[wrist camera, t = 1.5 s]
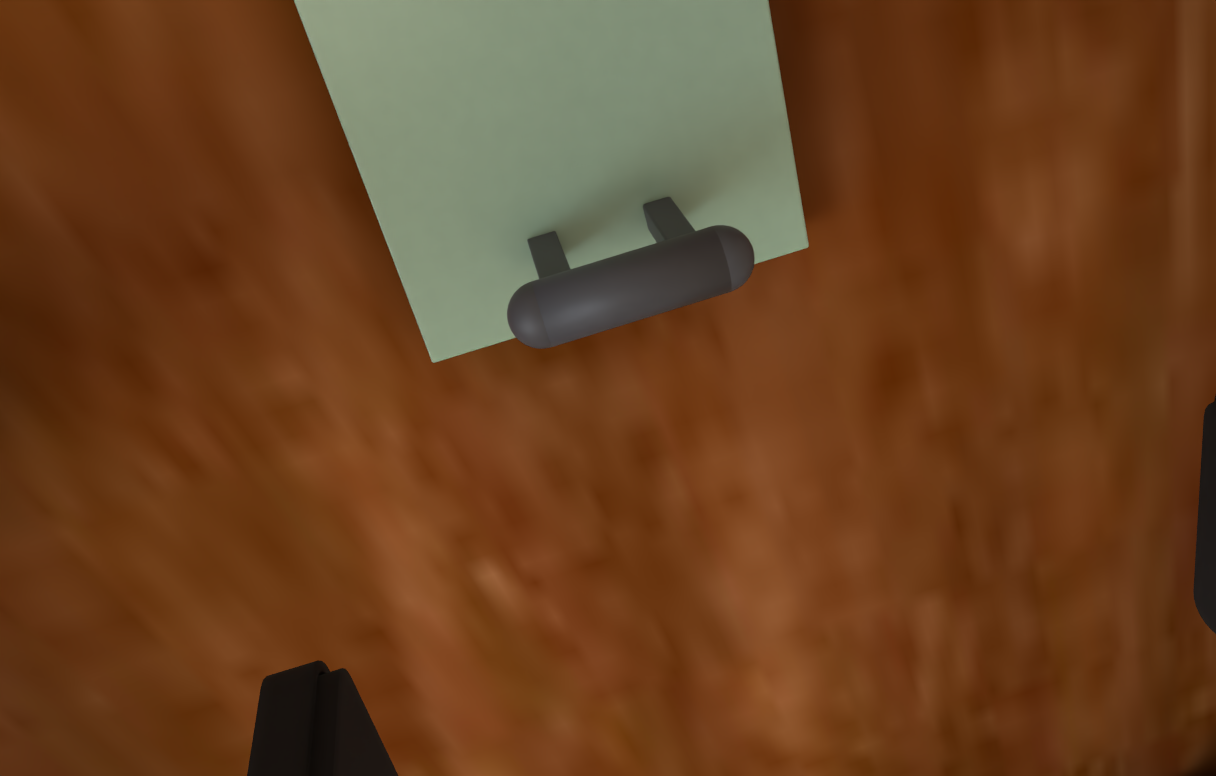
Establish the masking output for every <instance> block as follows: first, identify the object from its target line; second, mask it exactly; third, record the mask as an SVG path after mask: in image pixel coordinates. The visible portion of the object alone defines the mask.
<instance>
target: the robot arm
mask: <svg viewBox="0 0 1216 776" xmlns="http://www.w3.org/2000/svg"><path fill="white" fill-rule="evenodd" d="M1194 600H1195V604H1196V607H1197V609H1198V611H1199V614H1200V616H1201V617H1202V619H1203V620H1204V622H1205V623H1206V624H1207V625H1208V626H1209V628H1210V629H1211V630H1212V631H1213V632H1214V633H1215V634H1216V396H1215V400H1214V402H1213V403H1211V404H1209V405H1208V406H1207V408H1206V409H1205V414H1204V424H1203V441H1202V458H1201V474H1200V491H1199V508H1198V525H1197V542H1196V559H1195V576H1194ZM247 776H398V774H397V772H396V770H395V768H394V766H393V764H392V762H391V760H390V757H389V755H388V753H387V751H386V749H385V747H384V745H383V743H382V741H381V739H380V737H379V734H378V732H377V730H376V728H375V726H374V724H373V722H372V720H371V718H370V716H369V714H368V712H367V709H366V707H365V705H364V703H363V701H362V699H361V697H360V695H359V693H358V691H357V689H356V686H355V684H354V682H353V680H352V678H351V676H350V675H349V673H348V671H347V670H346V669H343V668H342V669H338V670H335V671H332V672H330V671H329V669H328V667H327V666H326V664H325V663H323V662H322V661H315V662H312V663H309V664H305V665H302V666H299V667H295V668H292V669H289V670H286V671H282V672H279V673H276V674H272V675H269V676H266V678H265V679H264V680H263V682H262V686H261V690H260V697H259V703H258V710H257V716H256V723H255V729H254V735H253V742H252V748H251V755H250V761H249V767H248V774H247Z"/></svg>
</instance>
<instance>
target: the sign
mask: <svg viewBox="0 0 1216 776" xmlns="http://www.w3.org/2000/svg"><path fill="white" fill-rule="evenodd" d="M294 2H295V5H296V7H297V10H298V13H299V15H300V18H301V20H302V23H303V26H304V28H305V31H306V33H307V36H308V39H309V41H310V44H311V47H312V49H313V52H314V54H315V57H316V60H317V62H318V65H319V67H320V70H321V73H322V75H323V78H324V80H325V83H326V86H327V88H328V91H329V94H330V96H331V99H332V101H333V104H334V107H335V109H336V112H337V114H338V117H339V120H340V122H341V125H342V128H343V130H344V133H345V135H346V138H347V141H348V143H349V146H350V148H351V151H352V154H353V156H354V159H355V162H356V164H357V167H358V169H359V172H360V175H361V177H362V180H363V182H364V185H365V188H366V190H367V193H368V195H369V198H370V201H371V203H372V206H373V209H374V211H375V214H376V216H377V219H378V222H379V224H380V227H381V229H382V232H383V235H384V237H385V240H386V243H387V245H388V248H389V250H390V253H391V256H392V258H393V261H394V263H395V266H396V269H397V271H398V274H399V276H400V279H401V282H402V284H403V287H404V290H405V292H406V295H407V297H408V300H409V303H410V305H411V308H412V310H413V313H414V316H415V318H416V321H417V324H418V326H419V329H420V331H421V334H422V337H423V339H424V342H425V344H426V347H427V350H428V352H429V355H430V358H431V360H432V362H433V363H435V362H438V361H441V360H445V359H448V358H451V357H454V356H458V355H461V354H464V353H467V352H471V351H474V350H477V349H480V348H484V347H487V346H490V345H493V344H497V343H500V342H503V341H506V340H510V339H513V338H517V339H518V340H519V341H521V342H522V343H524V344H525V345H528V346H530V347H534V348H549V347H553V346H556V345H560V344H563V343H566V342H569V341H573V340H576V339H579V338H582V337H586V336H589V335H592V334H595V333H599V332H602V331H605V330H608V329H611V328H615V327H618V326H621V325H624V324H628V323H631V322H634V321H637V320H641V319H644V318H647V317H650V316H654V315H657V314H660V313H663V312H667V311H670V310H673V309H676V308H679V307H683V306H686V305H689V304H692V303H696V302H699V301H702V300H705V299H709V298H712V297H715V296H718V295H722V294H725V293H728V292H731V291H733V290H736V289H737V288H739V287H740V286H742V285H743V284H744V283H745V282H746V281H747V280H748V278H749V277H750V275H751V273H752V270H753V268H754V264H756V263H759V262H763V261H766V260H769V259H772V258H776V257H779V256H782V255H785V254H789V253H792V252H795V251H798V250H802V249H805V248H808V246H809V244H808V238H807V232H806V226H805V220H804V214H803V207H802V201H801V195H800V189H799V183H798V177H797V171H796V165H795V159H794V153H793V147H792V141H791V135H790V128H789V122H788V116H787V110H786V104H785V98H784V92H783V86H782V80H781V74H780V68H779V62H778V56H777V49H776V43H775V37H774V31H773V25H772V19H771V13H770V7H769V1H768V0H294Z"/></svg>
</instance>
